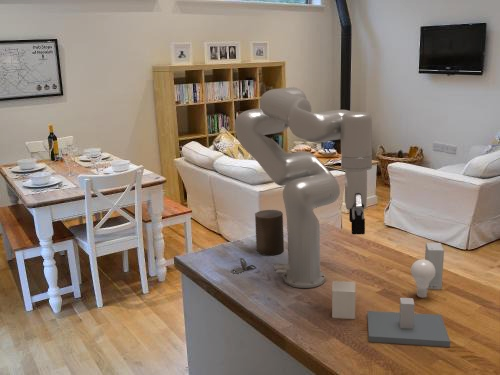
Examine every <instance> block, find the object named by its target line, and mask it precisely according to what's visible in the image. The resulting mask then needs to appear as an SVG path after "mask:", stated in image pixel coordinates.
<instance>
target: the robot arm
mask: <svg viewBox="0 0 500 375" xmlns="http://www.w3.org/2000/svg"><path fill="white" fill-rule="evenodd" d="M372 119H373V117H372V115H371V114H370V113H369V112H364V111H352V110H348V109H337V110H336V109H334V110H325V111H319V112H312V104H311V103H310V101H309V100H308V98H307V94H306V93H305V92H304V91H303V90H302V89H301V88H298V87H284V88H283V87H282V88H273V89H270V90H267V91H265V92H264V93H262V95H261V96H260V99H259V108H252V109H248V110H245V111H243V112H241V113H239V114H238V115H237V116H236V118H235V119H234V120H235V121H234V131H235V135H236V137H237V140H238V143H239V144H240V146H241V147H242V148H243V149H244V150H245V152H247V153H248V154H249V155H250V156H251V157H252V158H253V159H254V160H255V161H256V162H257V163H258V164H259V166H260V167H261V168H262V169H263V171H264V173H266V174H267V175H268V177H269V178H270V179H271V181H273V183H274V184H276V185H277V186H280V187H283V190H282V199H283V204H284V209H285V213H286V227H287V228H286V229H287V257H288V258H287V259H288V260H287V263H285V264H274V268H273V269H274V271H275V272H276V273H277V274H278V275H279V274H283V281H284V282H285V284H287V285H288V286H291V287H294V288H298V289H299V288H300V289H310V288H315V287H316V288H317V287H319V286H321V285H322V284H324V283H325V281H326V274H325V273H324V271H322V270H321V236H320V235H321V234H320V233H321V231H320V230H321V229H320V221H319V219H318V217H317V216H316V214H315V213H314V209H317V208H321V207H323V206H328V205H331V204H333V203H335V202H336V201H337V200H338V198H339V196H340V193H341V190H340V189H341V187H340V185H339V182H338V180H337V178H336V177H335V175H333V174H332V173H331V172H332V171H330V170H329V169H328V168H327V167H326V166H325V165H324V163H323V162H321V160H320V159H319V158H318V157H317V156H316V155H314V154H313V153H311V152H310V151H306V150H301V151H296V152H295V151H294V152H287V151H286V150H284V149H283V148H282V147H281V146H280V144H278V143H277V141H275V140H274V139H272V138H269V137H268V136H266V135H273V134H279V133H283V132H284V131H285V130H287V129H289V130H290V131H291V133H292V134H293V135H294V136H295V137H298V138H299V139H302V140H304V141H307V142H310V143H313V144H314V143H318V144H319V143H325V142H330V141H336V140H340V164H341V165H340V169H341V170H343V171H344V204H345V208H346V210H348V211H349V212H348V213H349V215H348V216H349V219H348V220H349V222H350V223H351V224H350V225H351V234H352V235H365V234H366V224H365V223H366V218H365V209H367V204H368V200H367V199H368V171H369V170H371V169H373V166H372V165H373V156H372V155H373V152H372V151H373V124H372V123H373V120H372ZM274 271H273V272H274Z"/></svg>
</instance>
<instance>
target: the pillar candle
mask: <svg viewBox="0 0 500 375" xmlns="http://www.w3.org/2000/svg"><path fill="white" fill-rule="evenodd" d="M254 220H255V243H256V247H255V248H256V252H257V254H259V255H263V256H268V257H269V256H277V255H280V254H283V253H284V251H285V246H284V245H285V242H284V215H283V212H282V211H281V210H278V209H263V210H259V211H257V212H254Z"/></svg>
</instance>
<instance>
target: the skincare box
mask: <svg viewBox="0 0 500 375" xmlns="http://www.w3.org/2000/svg"><path fill="white" fill-rule="evenodd" d="M444 256H445V250H444V247H443V245H442V243H441V242H425V253H424V259H425V260H428V261H430V262H431V263H432V264H433V265H434V267H435V271H436V273H435V276H434V278H433V279H432V281H431V282H430V283H429V286H428V288H427V290H442V287H443V275H444V274H443V273H444V272H443V271H444V259H445V258H444Z"/></svg>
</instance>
